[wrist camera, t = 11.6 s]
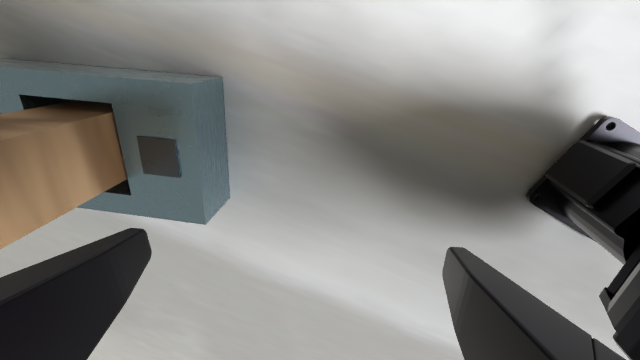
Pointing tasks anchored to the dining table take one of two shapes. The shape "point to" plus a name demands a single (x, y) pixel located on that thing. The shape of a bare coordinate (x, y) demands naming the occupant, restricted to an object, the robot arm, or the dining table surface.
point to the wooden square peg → (55, 163)
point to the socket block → (142, 132)
